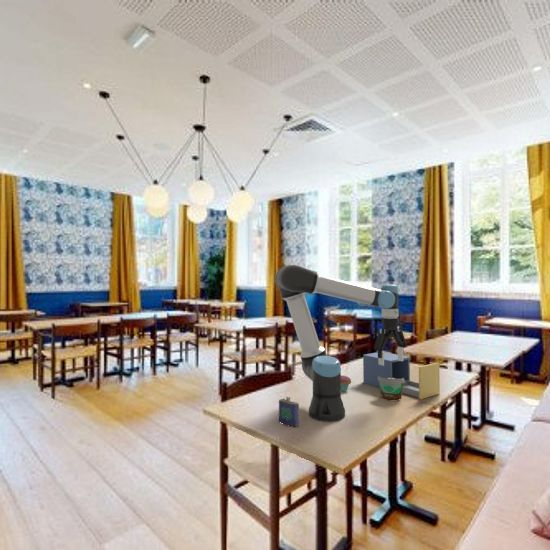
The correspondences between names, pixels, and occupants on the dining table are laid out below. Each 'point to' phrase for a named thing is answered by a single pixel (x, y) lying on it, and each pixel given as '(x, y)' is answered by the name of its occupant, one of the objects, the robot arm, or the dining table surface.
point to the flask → (289, 412)
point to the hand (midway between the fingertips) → (391, 362)
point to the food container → (391, 388)
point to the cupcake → (345, 382)
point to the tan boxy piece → (424, 382)
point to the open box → (385, 368)
